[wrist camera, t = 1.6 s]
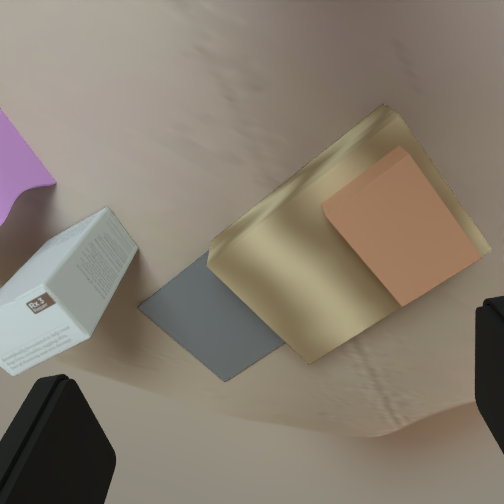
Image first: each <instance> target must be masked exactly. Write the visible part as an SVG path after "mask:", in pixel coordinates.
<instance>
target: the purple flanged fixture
mask: <svg viewBox="0 0 504 504" xmlns="http://www.w3.org/2000/svg"><path fill="white" fill-rule="evenodd" d="M54 184H56V181H55V180H54V178H53V177H52V176H51V174H50V173H49V172H48V170H47V169H46V168H45V166H44V165H43V164H42V162H41V161H40V160H39V158H38V157H37V156H36V155H35V153H34V152H33V151H32V149H31V148H30V147H29V145H28V144H27V143H26V141H25V140H24V139H23V137H22V136H21V135H20V133H19V132H18V131H17V129H16V128H15V127H14V125H13V124H12V123H11V121H10V120H9V119H8V117H7V116H6V115H5V113H4V112H3V111H2V110H1V108H0V226H1V225H2V224H3V223H4V222H5V220H6V218H7V217H8V214H9V212H10V210H11V208H12V206H13V204H14V202H15V200H16V199H17V197H18V196H19V195H20V194H21V193H22V192H24V191H26V190H29V189H32V188H36V187H43V186H52V185H54Z"/></svg>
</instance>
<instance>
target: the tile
mask: <svg viewBox="0 0 504 504" xmlns="http://www.w3.org/2000/svg"><path fill="white" fill-rule="evenodd" d="M321 205H322V208H323V211H324V213H325V216H326V217H327V218H328V220H329V221H330V222H331V223H332V224H333V225H334V227H335V228H336V229H337V230H338V231H339V233H340V234H341V235H342V236H343V237H344V238H345V240H346V241H347V242H348V243H349V244H350V246H351V247H352V248H353V249H354V250H355V251H356V253H357V254H358V255H359V256H360V257H361V259H362V260H363V261H364V262H365V263H366V264H367V266H368V267H369V268H370V269H371V270H372V272H373V273H374V274H375V275H376V276H377V277H378V279H379V280H380V281H381V282H382V283H383V285H384V286H385V287H386V288H387V289H388V290H389V292H390V293H391V294H392V295H393V296H394V298H395V299H396V300H397V301H398V302H399V303H400V305H401V306H402V307H404V306H405V305H407V304H409V303H410V302H412V301H413V300H415V299H417V298H418V297H420V296H421V295H423V294H425V293H426V292H428V291H429V290H431V289H433V288H434V287H436V286H437V285H439V284H441V283H442V282H444V281H445V280H447V279H449V278H450V277H452V276H453V275H455V274H457V273H458V272H460V271H462V270H463V269H465V268H466V267H468V266H470V265H471V264H473V263H474V262H476V261H478V260H479V259H481V258H482V257H481V255H480V254H479V252H478V251H477V249H476V248H475V247H474V245H473V244H472V242H471V241H470V240H469V238H468V237H467V235H466V234H465V232H464V231H463V230H462V228H461V227H460V225H459V224H458V222H457V221H456V220H455V218H454V217H453V215H452V214H451V213H450V211H449V210H448V208H447V207H446V205H445V204H444V203H443V201H442V200H441V198H440V197H439V195H438V194H437V193H436V191H435V190H434V188H433V187H432V186H431V184H430V183H429V181H428V180H427V178H426V177H425V176H424V174H423V173H422V171H421V170H420V168H419V167H418V166H417V164H416V163H415V161H414V160H413V158H412V157H411V156H410V154H409V153H408V152H407V151H405V150H404V149H403V148H402V147H401V146H400V145H399V146H397V147H396V148H395V149H393V150H392V151H391V152H389V153H388V154H387V155H385V156H384V157H383V158H381V159H380V160H379V161H377V162H376V163H375V164H373V165H372V166H371V167H369V168H368V169H367V170H365V171H364V172H363V173H361V174H360V175H359V176H358V177H356V178H355V179H354V180H352V181H351V182H350V183H348V184H347V185H346V186H344V187H343V188H342V189H340V190H339V191H338V192H336V193H335V194H334V195H332V196H331V197H330V198H328V199H327V200H326V201H324V202H323V203H322V204H321Z"/></svg>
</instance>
